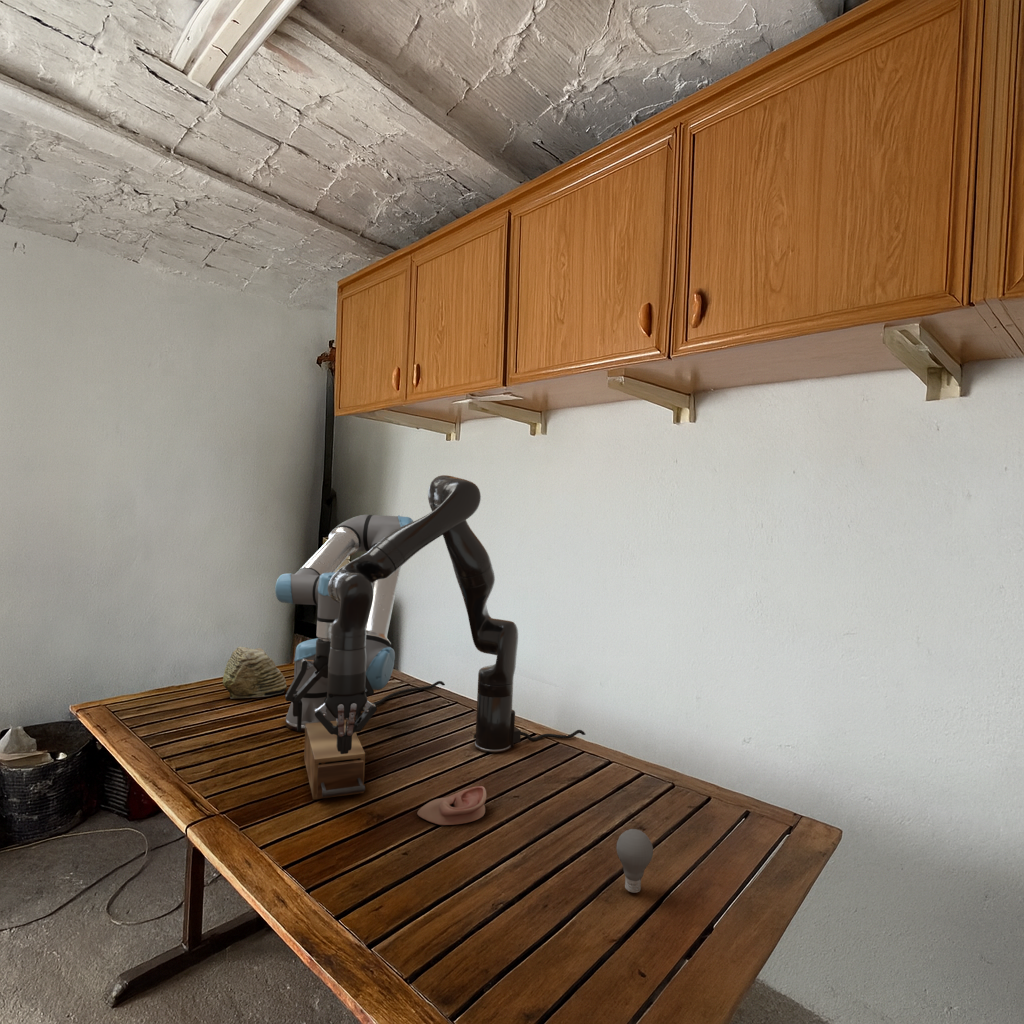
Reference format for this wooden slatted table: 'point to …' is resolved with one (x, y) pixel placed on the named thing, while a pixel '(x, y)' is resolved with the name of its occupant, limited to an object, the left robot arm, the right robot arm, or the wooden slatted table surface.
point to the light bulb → (634, 857)
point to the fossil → (252, 674)
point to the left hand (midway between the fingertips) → (328, 727)
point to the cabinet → (326, 751)
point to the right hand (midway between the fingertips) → (343, 752)
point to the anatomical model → (456, 807)
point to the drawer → (340, 778)
